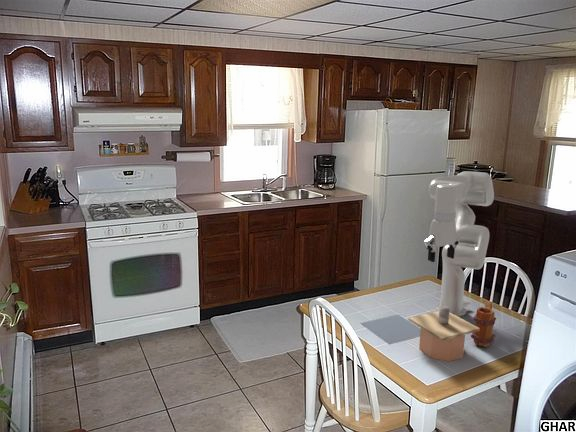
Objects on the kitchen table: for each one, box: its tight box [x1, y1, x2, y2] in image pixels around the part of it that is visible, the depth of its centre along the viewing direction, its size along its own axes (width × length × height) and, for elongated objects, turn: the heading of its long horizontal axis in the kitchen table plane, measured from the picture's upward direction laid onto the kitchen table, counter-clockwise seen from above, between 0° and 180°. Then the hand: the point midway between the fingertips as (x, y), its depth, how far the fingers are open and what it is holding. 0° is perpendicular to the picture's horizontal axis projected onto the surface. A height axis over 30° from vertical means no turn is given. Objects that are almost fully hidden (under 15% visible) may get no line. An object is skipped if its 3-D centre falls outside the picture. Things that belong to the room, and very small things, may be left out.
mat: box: [360, 314, 421, 345], centre depth 194 cm, size 20×20×1 cm
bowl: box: [418, 328, 466, 362], centre depth 177 cm, size 16×16×10 cm
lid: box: [408, 306, 480, 341], centre depth 176 cm, size 18×18×7 cm
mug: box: [470, 301, 497, 347], centre depth 183 cm, size 15×8×15 cm, turn 148°
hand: (440, 259), depth 182 cm, fingers open, 9 cm apart
